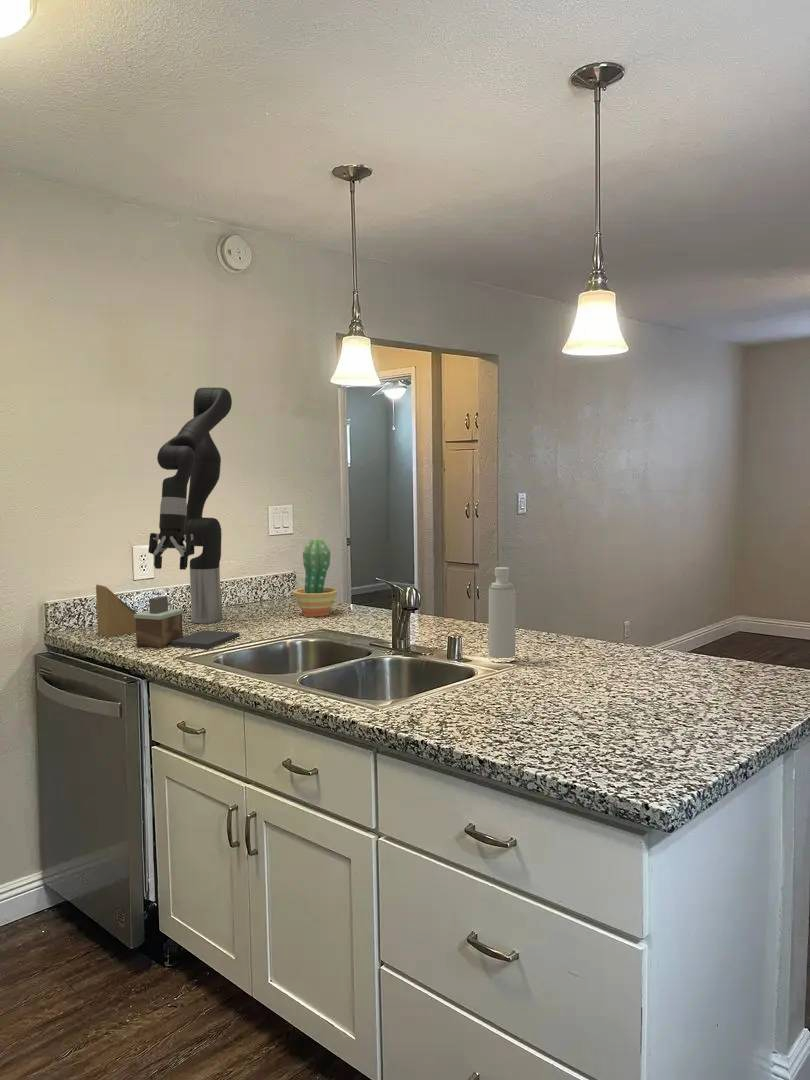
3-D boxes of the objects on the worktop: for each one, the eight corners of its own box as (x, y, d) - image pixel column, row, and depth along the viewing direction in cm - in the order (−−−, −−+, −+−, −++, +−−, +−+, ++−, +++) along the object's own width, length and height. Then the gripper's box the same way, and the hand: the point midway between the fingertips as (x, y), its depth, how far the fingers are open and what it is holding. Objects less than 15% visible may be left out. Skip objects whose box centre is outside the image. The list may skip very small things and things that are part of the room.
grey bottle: (506, 664, 201) (507, 563, 199) (483, 660, 205) (483, 562, 203) (520, 659, 207) (520, 561, 204) (497, 655, 211) (497, 559, 208)
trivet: (204, 635, 240) (204, 630, 240) (239, 637, 236) (239, 632, 236) (170, 646, 225) (170, 641, 225) (207, 649, 221) (207, 644, 221)
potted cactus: (348, 613, 273) (347, 539, 271) (314, 620, 262) (312, 542, 260) (317, 608, 283) (316, 536, 281) (282, 615, 272) (281, 540, 270)
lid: (158, 614, 234) (157, 594, 234) (183, 616, 231) (182, 595, 231) (134, 621, 224) (133, 599, 224) (160, 623, 221) (159, 601, 221)
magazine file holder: (158, 631, 247) (157, 582, 246) (108, 638, 238) (106, 587, 236) (147, 627, 254) (145, 579, 253) (97, 633, 244) (95, 584, 243)
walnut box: (159, 639, 235) (158, 611, 234) (182, 641, 232) (181, 613, 231) (136, 646, 225) (135, 617, 224) (160, 648, 222) (159, 619, 222)
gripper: (201, 515, 240) (198, 570, 239) (160, 514, 245) (157, 568, 244) (186, 512, 233) (183, 569, 232) (144, 512, 238) (141, 568, 237)
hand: (170, 569), depth 238 cm, fingers open, 8 cm apart
